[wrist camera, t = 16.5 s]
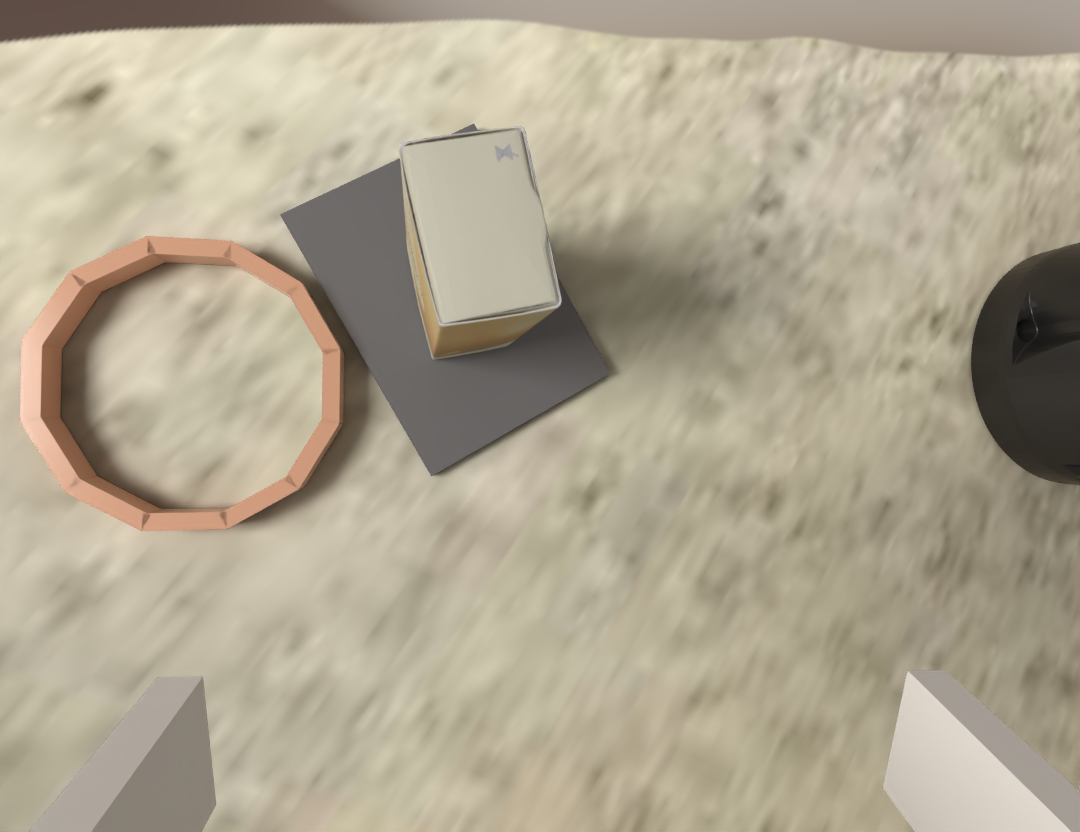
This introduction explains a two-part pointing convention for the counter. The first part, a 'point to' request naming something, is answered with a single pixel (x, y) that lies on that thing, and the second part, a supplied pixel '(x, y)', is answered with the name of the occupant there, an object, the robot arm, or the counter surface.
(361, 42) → the counter surface
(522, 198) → the skincare box
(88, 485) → the pink polygonal ring
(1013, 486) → the counter surface
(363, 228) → the rubber mat
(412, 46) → the counter surface
